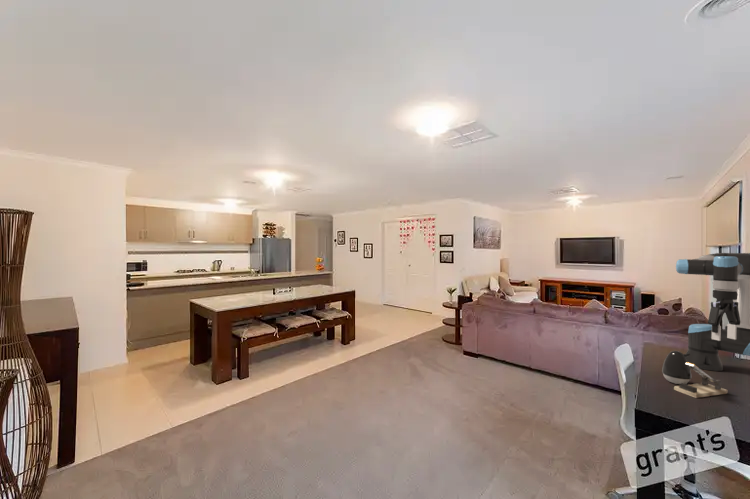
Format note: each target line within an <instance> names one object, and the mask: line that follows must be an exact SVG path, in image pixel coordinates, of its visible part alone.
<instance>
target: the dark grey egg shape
mask: <svg viewBox="0 0 750 499" xmlns="http://www.w3.org/2000/svg"><path fill="white" fill-rule="evenodd" d="M687 356H690V354H689V353H688V354H686V353H683V352H681V351H678V350H671V351H670V352H669V353H668V354H667V355H666V357H665V359H664V361H663V365H662V368H661V369H662V370H661V372H662V374H663V377H664V379H666V381H668V382H669V383H672V384H675V385H679V384H681V383H684V384H687V385H688V384H689V382H690V381H691V379H692V369H691V368H690V367H689V366H687V365H686V364H685V363H686V362H687V363H688V361H687V359H686V357H687Z"/></svg>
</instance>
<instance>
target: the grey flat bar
mask: <svg viewBox="0 0 750 499" xmlns="http://www.w3.org/2000/svg"><path fill="white" fill-rule="evenodd" d="M685 364H686V365H687V366H689V367H690V370H693V371H695V373H697V374H698V375H700V376H701V378H702V377H704V378H705V379H706V380H708V382H712V383H714V384H715V380H716V379H714V378H713V377H712V376H710V375H709V374H707V373H706V372H705V371H703V369H700V368H698V367H697V366H696V365H694V364H691V363H687V362H686V363H685Z"/></svg>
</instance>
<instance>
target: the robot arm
mask: <svg viewBox="0 0 750 499" xmlns="http://www.w3.org/2000/svg"><path fill="white" fill-rule="evenodd" d="M675 269H676V272H677V273H678V274H681V275H696V276H697V275H699V276H700V275H701V276H713V278H712V288H713V290H712V297H713V298H714V299H716V302H714V301H711V302H710V310H709V314H708V319H707V323H692V324H690V325H689V326H688V331H687V334H688V336H687V337H688V338H687V339H688V340H687V342H688V343H687V344H688V345H687V351H686V353H685V354H688V353H689V354H690V356H687V357H686V359H687V361H688V363H691V364H694V365H696V366H697V367H698V368H699V369H700V370H707V371H714V372H722V371H723V370H724V369H723V368H724V366H723V363H722V360H721V358H720V355H719V351H721V352H726V353H730V354H731V353H732V354H737V355H742V356H748V357H750V252H747V253H746V252H743V253H741V252H734V253H733V252H716V253H709V254H705V255H702V256H699V257H698V258H693V259H691V258H690V259H687V258H684V259H678V260H677V261H676V263H675ZM724 315H725V316H726V318H727V321H728V323H727V324H726V325H724V326H725V327H724V328H722V326H721V325H720V324H721V322H722V319H723V317H724Z"/></svg>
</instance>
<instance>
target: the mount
mask: <svg viewBox="0 0 750 499" xmlns="http://www.w3.org/2000/svg"><path fill="white" fill-rule="evenodd" d="M714 380H715V383H714V385H713V384H710V383H709V381H708V380H706V379H705V378H704V377H702V376H701V382H699V383H698V382H697V383H693V384H691V383H690V384H688V383H687V384H684V383H681V384H678V385H675V386H674V387H673V391H677V392H679V393H682V394H684V395H687V396H690V397H691V398H692V397H693V398H695V399H697V398H704V397H710V396H711V397H713V396H718V395H719V396H720V395H727V394H728V389H725V388H722V380H721V379H714Z"/></svg>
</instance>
